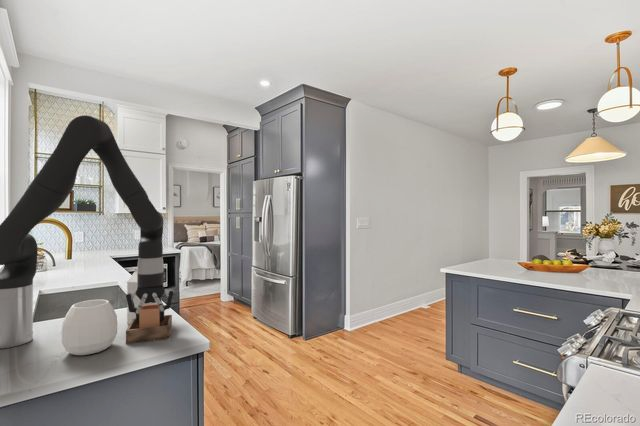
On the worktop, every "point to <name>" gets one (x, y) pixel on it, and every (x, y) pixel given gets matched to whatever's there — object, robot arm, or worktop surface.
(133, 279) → the milk carton
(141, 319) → the terracotta crate
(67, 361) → the worktop surface
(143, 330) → the walnut crate
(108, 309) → the white round vase
